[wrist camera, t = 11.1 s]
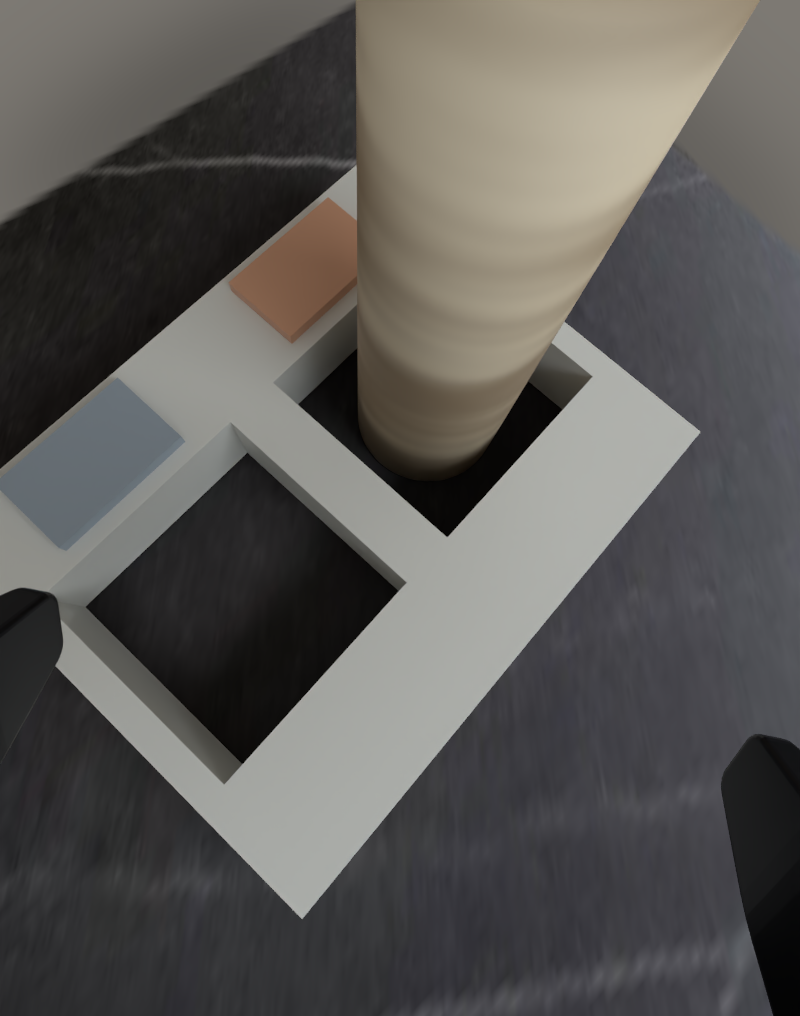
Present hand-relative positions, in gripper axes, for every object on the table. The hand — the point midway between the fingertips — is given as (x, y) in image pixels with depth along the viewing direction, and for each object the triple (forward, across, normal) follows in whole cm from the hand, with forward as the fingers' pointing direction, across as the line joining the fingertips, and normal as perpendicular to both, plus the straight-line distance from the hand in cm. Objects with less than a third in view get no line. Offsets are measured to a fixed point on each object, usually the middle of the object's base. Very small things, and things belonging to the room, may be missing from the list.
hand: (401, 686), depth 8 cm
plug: (+13, 0, +1) cm, 13 cm away
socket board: (+10, +2, +4) cm, 11 cm away
